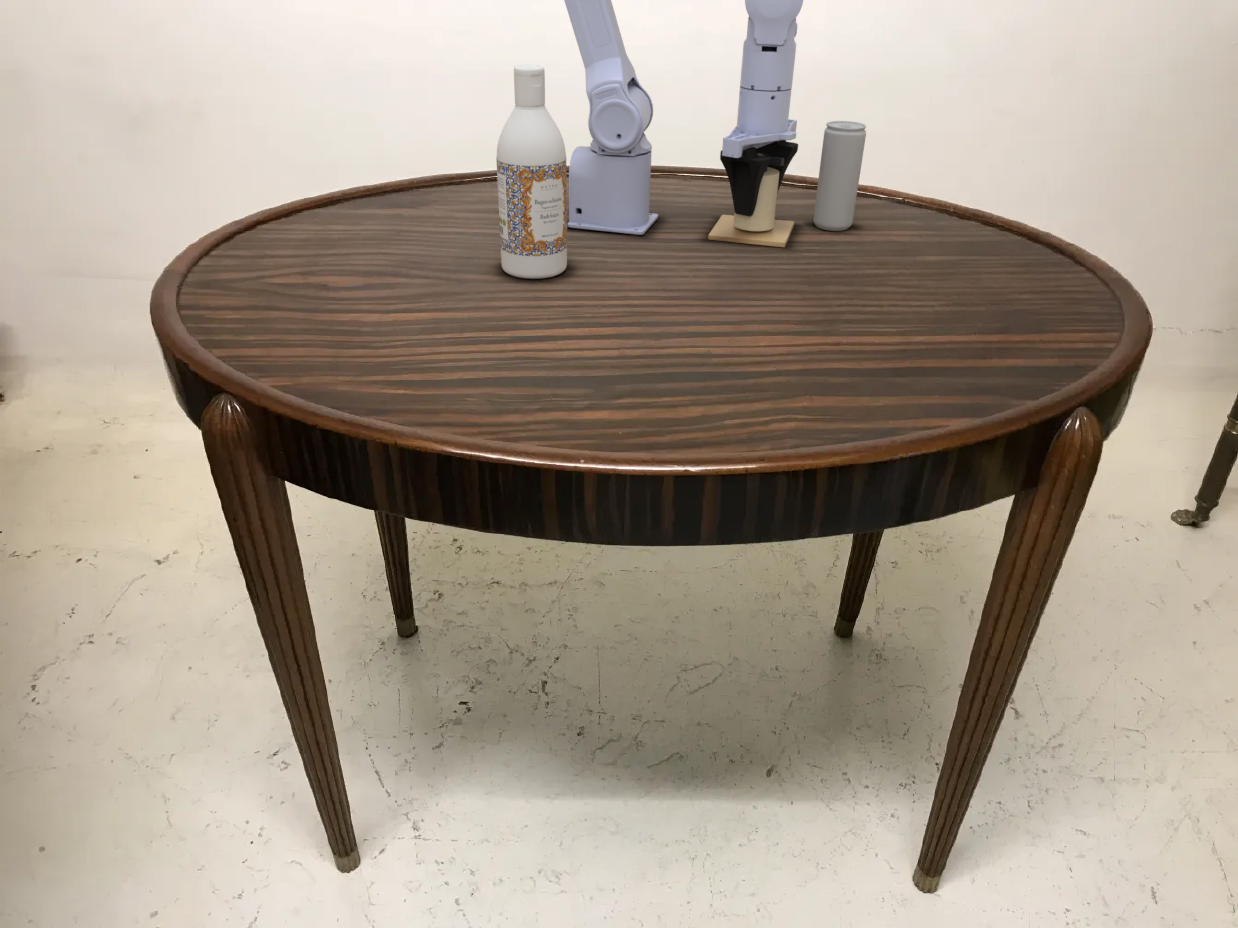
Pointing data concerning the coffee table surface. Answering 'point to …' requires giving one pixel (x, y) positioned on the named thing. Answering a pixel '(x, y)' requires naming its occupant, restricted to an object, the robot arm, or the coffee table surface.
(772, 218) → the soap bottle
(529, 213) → the bath foam
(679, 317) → the coffee table surface
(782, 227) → the coaster
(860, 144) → the beverage can
